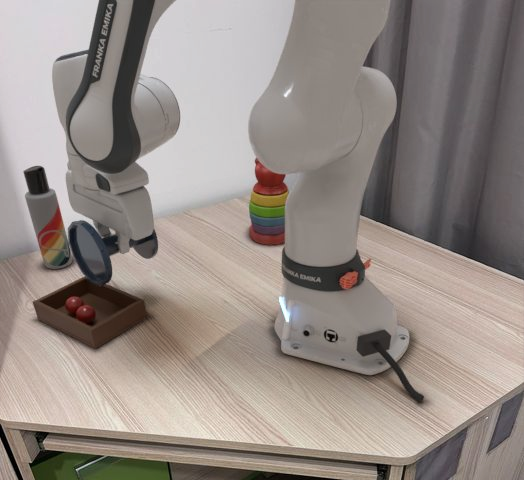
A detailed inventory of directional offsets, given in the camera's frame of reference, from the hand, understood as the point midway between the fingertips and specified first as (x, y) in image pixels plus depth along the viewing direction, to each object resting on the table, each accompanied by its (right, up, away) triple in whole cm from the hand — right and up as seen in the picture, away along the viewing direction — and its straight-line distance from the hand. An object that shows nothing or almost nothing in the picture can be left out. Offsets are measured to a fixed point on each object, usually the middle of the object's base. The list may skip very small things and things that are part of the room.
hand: (116, 248), depth 93 cm
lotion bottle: (-17, +1, +20) cm, 27 cm away
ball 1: (-8, -10, +2) cm, 13 cm away
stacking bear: (+27, +8, +29) cm, 41 cm away
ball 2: (-5, -11, -1) cm, 13 cm away
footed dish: (+4, +3, +3) cm, 6 cm away
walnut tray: (-5, -12, +2) cm, 13 cm away
